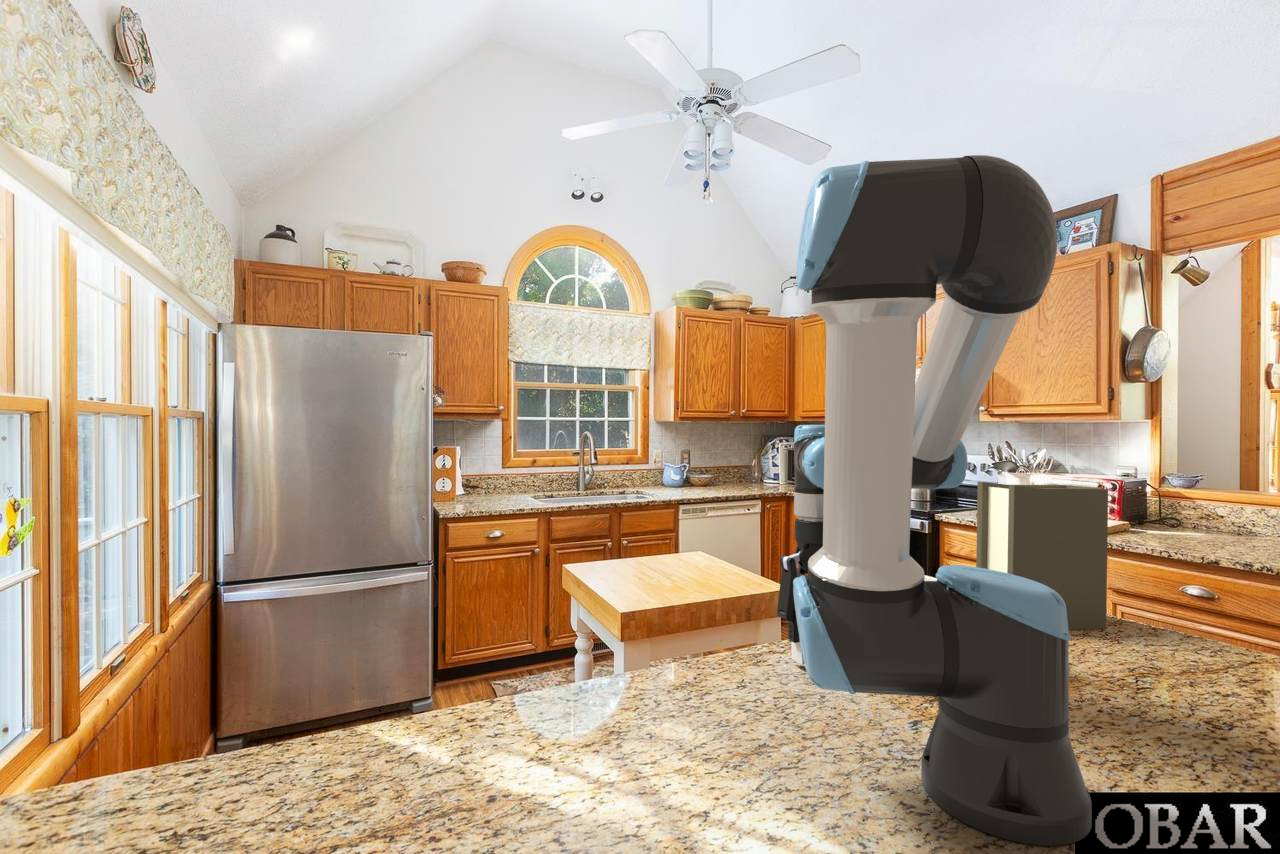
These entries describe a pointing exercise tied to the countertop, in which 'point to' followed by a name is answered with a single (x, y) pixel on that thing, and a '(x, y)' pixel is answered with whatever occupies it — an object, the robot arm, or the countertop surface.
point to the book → (1049, 542)
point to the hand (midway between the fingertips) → (818, 657)
